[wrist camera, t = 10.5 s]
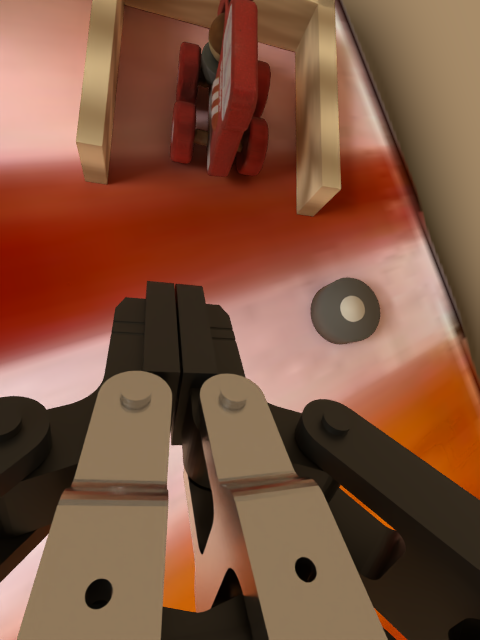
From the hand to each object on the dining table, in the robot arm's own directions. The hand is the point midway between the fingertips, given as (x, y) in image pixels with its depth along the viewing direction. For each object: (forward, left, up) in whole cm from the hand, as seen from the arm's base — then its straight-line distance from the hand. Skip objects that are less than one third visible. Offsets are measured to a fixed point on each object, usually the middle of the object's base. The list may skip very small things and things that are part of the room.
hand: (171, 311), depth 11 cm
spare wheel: (+1, +15, -16) cm, 22 cm away
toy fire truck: (-17, +10, -16) cm, 26 cm away
